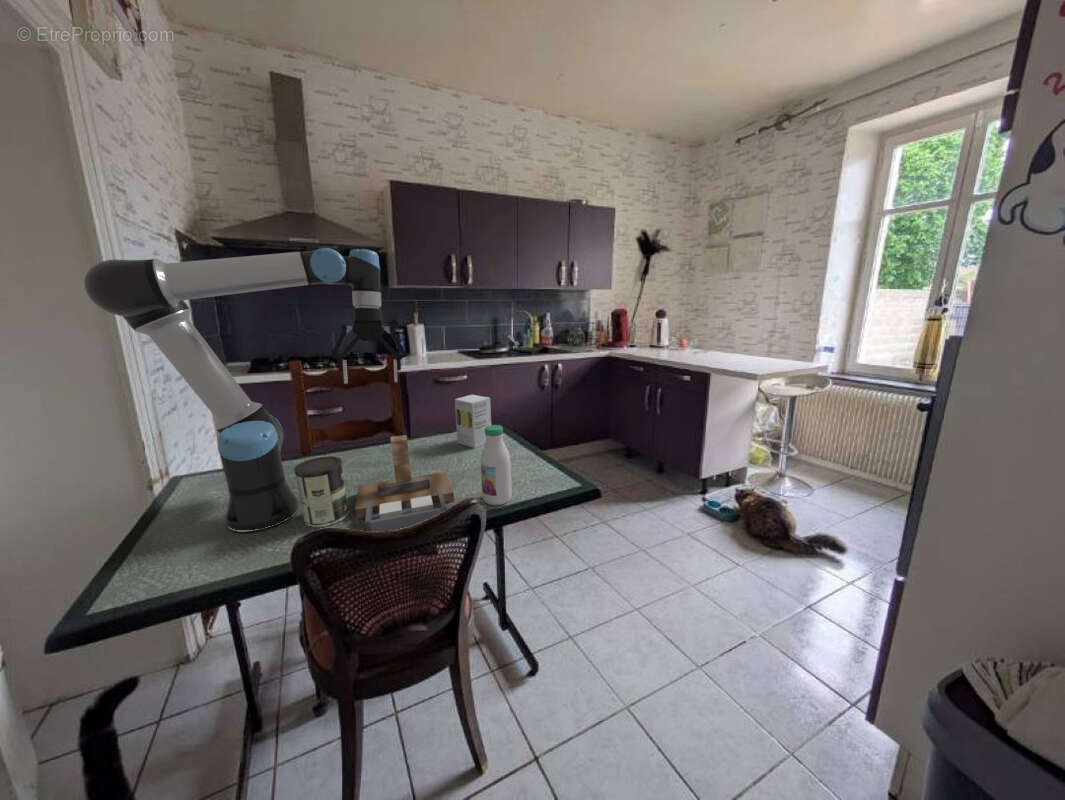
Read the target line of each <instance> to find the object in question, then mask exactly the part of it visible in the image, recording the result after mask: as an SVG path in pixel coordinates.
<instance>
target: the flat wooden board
mask: <svg viewBox="0 0 1065 800" xmlns="http://www.w3.org/2000/svg"><path fill="white" fill-rule="evenodd" d="M428 477H429V482H430V488H428V489H422V490H416V491H410V492H404V493H399V494H393V495H387V496H381V497H379V494H378V485H385V484H391V483H396V480H395V479H393V480H392V479H391V480H385V481H380V482H372V483H366V484H360V485H358V486H357V493H356V494H357V495H356V499H355V506H354V512H355V519H356V520H357V519H364V518H366V509H367V502H370V501H372V508H373V514H374V513H379V510H380V504H384V503H390V502H395V501H401V504H402V508H407V507H411V499H413V498H418V497H424V496H430V495H431V498H432V502H433V503H435V502H439V501H438V490H440V489H441V490H442V493H443V496H444V500H445V503H451V502H455V496H454V495H455V494H454V489H453V488H452V484H451V482H450V478H449V476H448V473H447V471H443V472H435V473H430V474H423V475H417V476H411V480H415V479H422V478H428Z"/></svg>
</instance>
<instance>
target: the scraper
mask: <svg viewBox="0 0 1065 800" xmlns="http://www.w3.org/2000/svg"><path fill="white" fill-rule="evenodd" d="M390 445H391V453H392V461H393V462H392V463H393V470H394V471H393V472H394V480H396V483H391V484H385V485H378V494H379V497H381V496H387V495H393V494H399V493H404V492H410V491H416V490H422V489H428V488H430V482H429V477H428V478H422V479H415V480H411V477H412V473H411V471H412V470H411V465H410V455H409V446H408V437H407V434H402V435H396V436H390Z"/></svg>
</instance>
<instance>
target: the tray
mask: <svg viewBox="0 0 1065 800" xmlns="http://www.w3.org/2000/svg"><path fill="white" fill-rule="evenodd" d="M438 501H439V502H435V503H433V509H431V510H425V511H420V512H414V513H412V508H411V507H407V508H402V514H403V515H398V516H393V517H387V518H382V519H380V515H379V513H374V514H373V508H372V501H370V502H367V509H366V517H365V522H364V525H365V531H389V530H395V529H400V528H404V527H408V526H411V525H414V524H416V523H419V522H422V521H424V520H426V519H429V518H431V517H433V516H435V515H437V514H439V513H441V512H443V511H444V510H446V509H447V510H448V507H447V504H446V503H447V502H446V503H445V500H444V496H443V493H442V490H441V489H440V490H438Z"/></svg>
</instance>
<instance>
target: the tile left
mask: <svg viewBox="0 0 1065 800" xmlns="http://www.w3.org/2000/svg"><path fill="white" fill-rule="evenodd" d="M379 515H380V519H382V518H387V517H393V516H398V515H403V514H402V504H401V501H395V502H390V503H384V504H380V510H379Z"/></svg>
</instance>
